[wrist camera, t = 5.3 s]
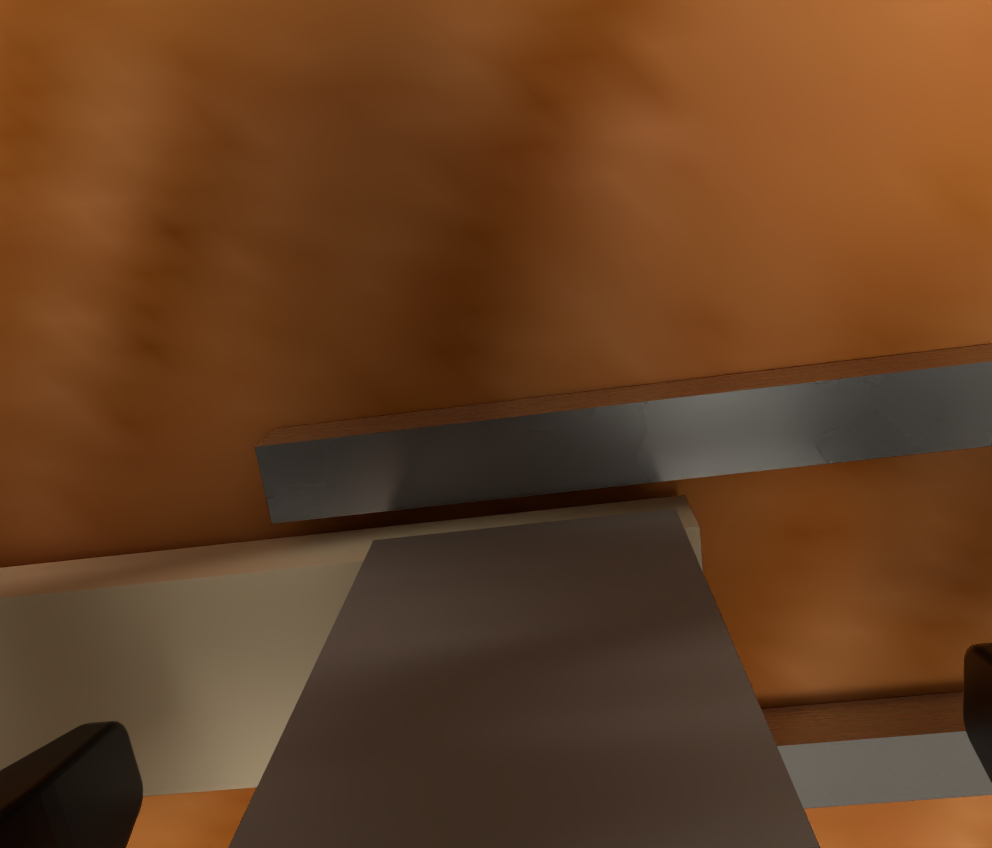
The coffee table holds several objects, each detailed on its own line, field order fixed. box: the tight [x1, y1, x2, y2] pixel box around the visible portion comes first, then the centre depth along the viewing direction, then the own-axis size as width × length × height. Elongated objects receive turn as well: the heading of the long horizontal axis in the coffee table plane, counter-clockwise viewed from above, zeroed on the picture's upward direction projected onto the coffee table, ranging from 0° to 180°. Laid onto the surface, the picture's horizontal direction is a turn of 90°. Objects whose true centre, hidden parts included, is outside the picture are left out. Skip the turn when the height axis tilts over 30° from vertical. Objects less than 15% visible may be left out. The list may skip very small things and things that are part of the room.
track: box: [255, 344, 992, 809], centre depth 11 cm, size 13×6×1 cm, turn 98°
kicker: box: [0, 495, 820, 848], centre depth 8 cm, size 15×12×6 cm
